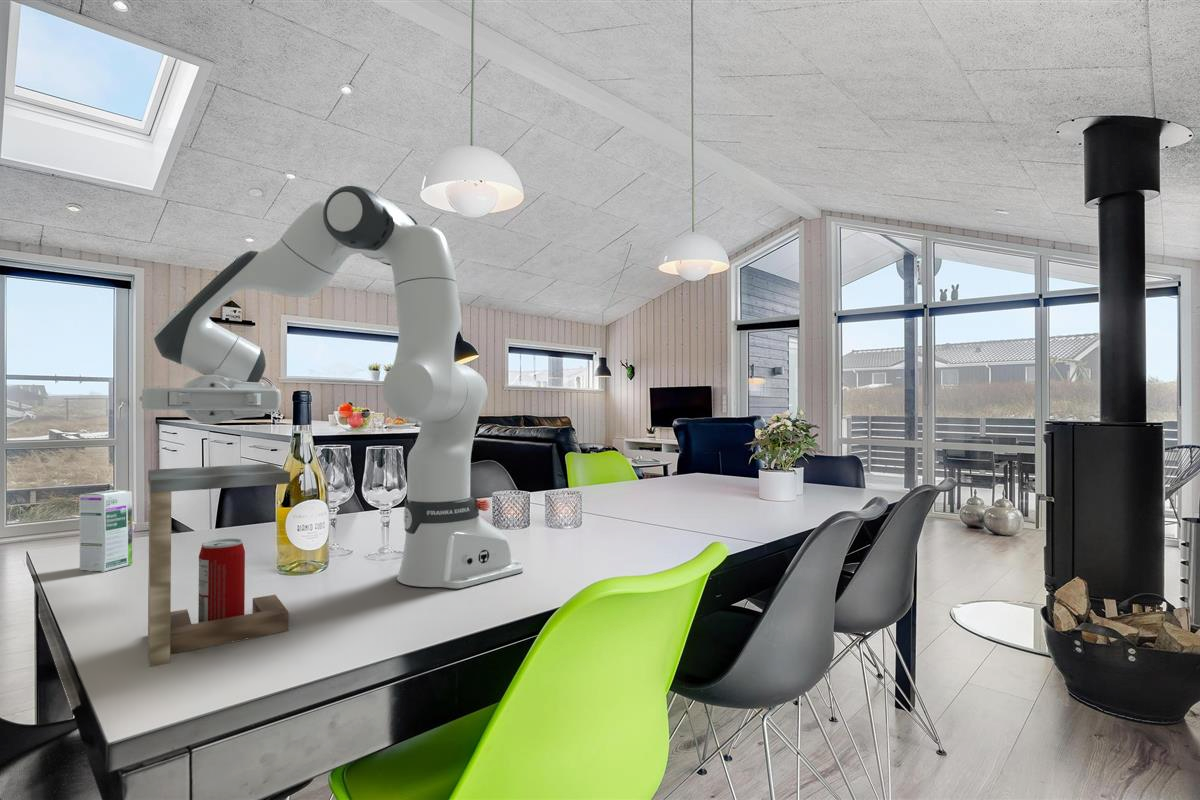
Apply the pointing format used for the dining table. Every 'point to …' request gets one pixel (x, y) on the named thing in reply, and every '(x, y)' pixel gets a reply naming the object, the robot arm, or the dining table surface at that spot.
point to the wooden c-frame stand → (160, 533)
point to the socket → (228, 626)
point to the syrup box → (105, 530)
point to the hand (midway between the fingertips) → (219, 398)
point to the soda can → (221, 580)
